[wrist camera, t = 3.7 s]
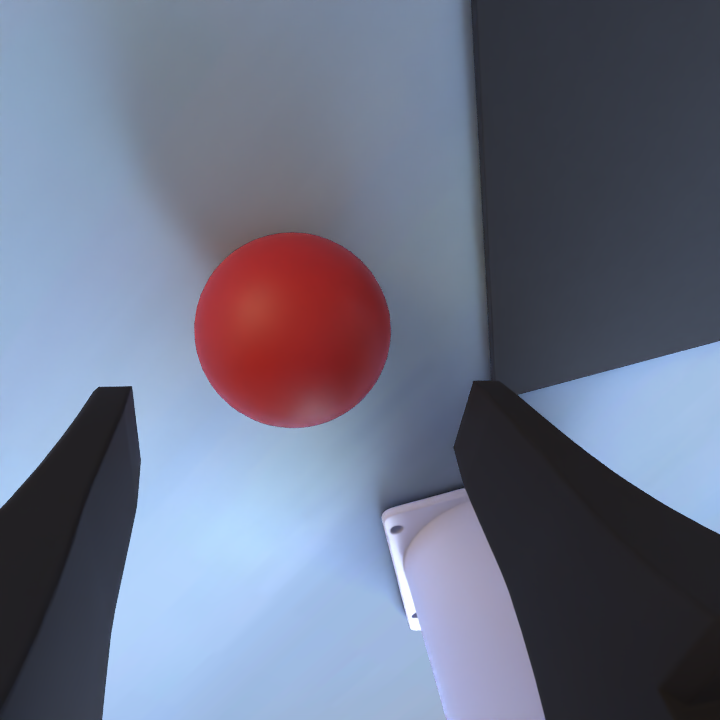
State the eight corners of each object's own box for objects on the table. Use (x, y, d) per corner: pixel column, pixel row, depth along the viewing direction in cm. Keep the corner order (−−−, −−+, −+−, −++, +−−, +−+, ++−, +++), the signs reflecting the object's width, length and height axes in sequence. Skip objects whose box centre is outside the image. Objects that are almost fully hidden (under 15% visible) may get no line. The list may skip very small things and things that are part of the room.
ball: (381, 330, 19) (423, 439, 15) (229, 370, 19) (231, 490, 15) (353, 181, 16) (396, 269, 12) (170, 227, 16) (154, 331, 12)
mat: (776, 318, 22) (785, 323, 22) (492, 394, 22) (495, 401, 21) (977, -316, 12) (997, -322, 12) (459, -199, 12) (466, -202, 11)
